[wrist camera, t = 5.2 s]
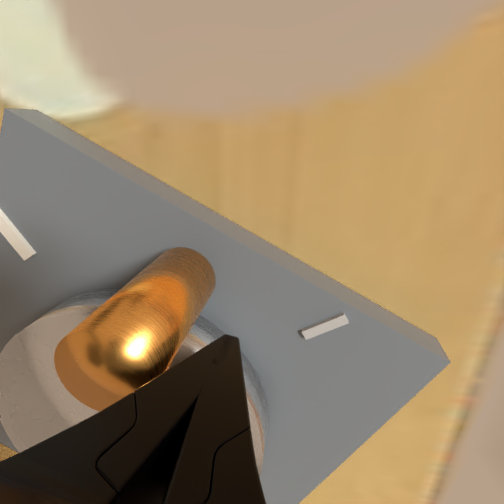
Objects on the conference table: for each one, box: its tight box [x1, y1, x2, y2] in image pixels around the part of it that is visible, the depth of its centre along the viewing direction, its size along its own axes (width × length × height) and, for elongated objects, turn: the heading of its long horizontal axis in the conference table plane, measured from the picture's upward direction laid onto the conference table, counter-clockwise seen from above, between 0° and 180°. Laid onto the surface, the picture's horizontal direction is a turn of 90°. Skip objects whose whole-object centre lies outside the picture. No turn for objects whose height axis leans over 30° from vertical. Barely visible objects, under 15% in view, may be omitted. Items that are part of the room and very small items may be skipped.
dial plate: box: [0, 108, 450, 504], centre depth 16 cm, size 19×19×2 cm
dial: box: [0, 247, 268, 477], centre depth 12 cm, size 15×12×6 cm
